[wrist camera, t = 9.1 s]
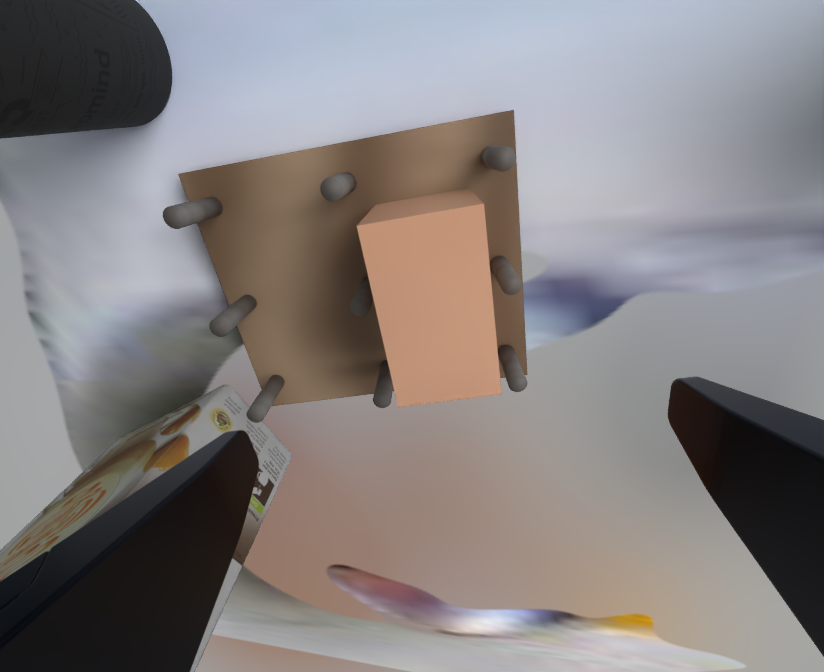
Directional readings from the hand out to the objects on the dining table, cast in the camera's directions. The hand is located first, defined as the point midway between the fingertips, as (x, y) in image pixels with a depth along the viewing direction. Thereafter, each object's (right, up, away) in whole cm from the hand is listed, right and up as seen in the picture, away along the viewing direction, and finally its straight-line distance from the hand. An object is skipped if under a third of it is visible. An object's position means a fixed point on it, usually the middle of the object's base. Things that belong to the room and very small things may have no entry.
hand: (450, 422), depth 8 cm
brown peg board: (-3, +5, +11) cm, 12 cm away
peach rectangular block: (0, +5, +10) cm, 11 cm away
